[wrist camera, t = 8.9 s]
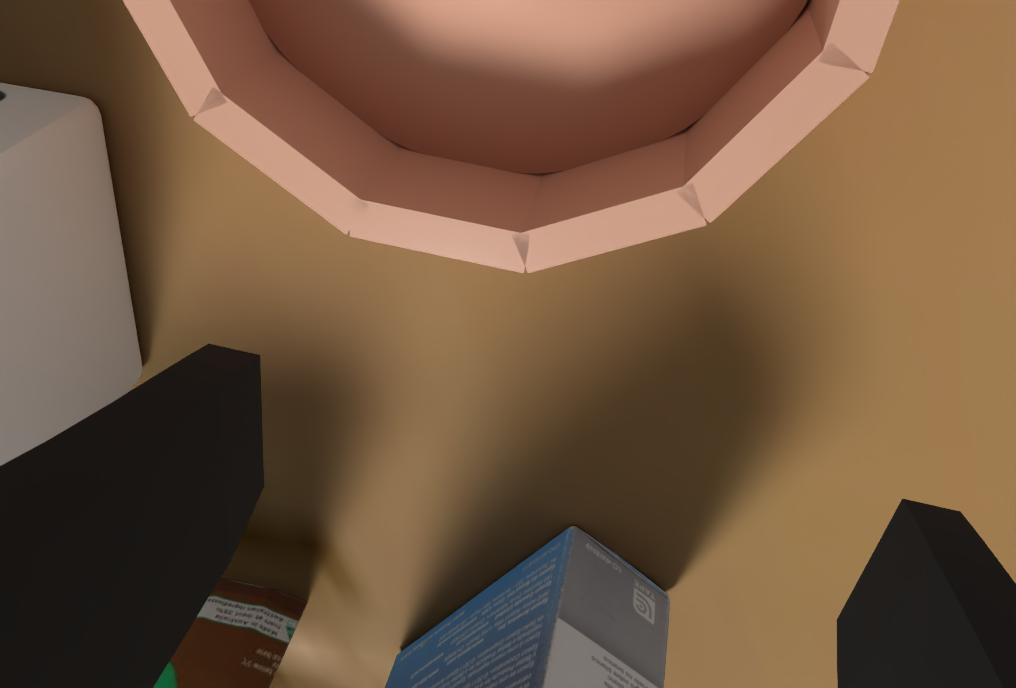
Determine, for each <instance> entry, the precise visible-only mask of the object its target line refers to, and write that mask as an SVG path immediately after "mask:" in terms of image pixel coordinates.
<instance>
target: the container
mask: <svg viewBox="0 0 1016 688" xmlns="http://www.w3.org/2000/svg"><path fill="white" fill-rule="evenodd" d="M141 373H142V362H141V355H140V349H139V343H138V337H137V331H136V325H135V319H134V313H133V307H132V301H131V295H130V288H129V282H128V276H127V270H126V264H125V258H124V252H123V246H122V240H121V234H120V228H119V221H118V215H117V209H116V203H115V197H114V191H113V185H112V179H111V173H110V167H109V161H108V154H107V148H106V142H105V136H104V130H103V124H102V118H101V114H100V111H99V109H98V107H97V106H96V105H95V104H94V102H93V101H92V100H90V99H87V98H85V97H82V96H76V95H70V94H64V93H58V92H53V91H47V90H41V89H35V88H29V87H24V86H18V85H12V84H6V83H0V466H1V465H3V464H5V463H7V462H8V461H10V460H12V459H14V458H16V457H18V456H20V455H21V454H23V453H25V452H27V451H29V450H31V449H33V448H34V447H36V446H38V445H40V444H42V443H44V442H46V441H47V440H49V439H51V438H53V437H54V436H56V435H58V434H59V433H61V432H63V431H64V430H66V429H68V428H69V427H71V426H73V425H75V424H76V423H78V422H80V421H81V420H83V419H85V418H86V417H88V416H90V415H91V414H93V413H95V412H96V411H98V410H100V409H102V408H103V407H105V406H107V405H108V404H110V403H112V402H113V401H115V400H117V399H118V398H120V397H122V396H123V395H125V394H127V392H128V391H129V390H130V389H131V388H132V387H133V385H134V384H135V383H136V382H137V381H138V380H139V379H140V376H141Z"/></svg>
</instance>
